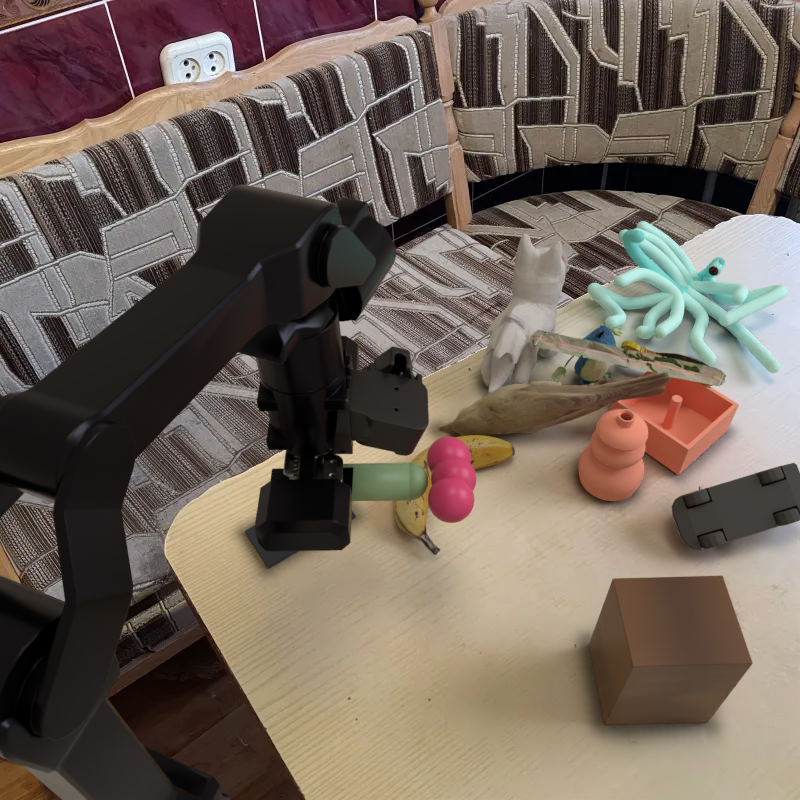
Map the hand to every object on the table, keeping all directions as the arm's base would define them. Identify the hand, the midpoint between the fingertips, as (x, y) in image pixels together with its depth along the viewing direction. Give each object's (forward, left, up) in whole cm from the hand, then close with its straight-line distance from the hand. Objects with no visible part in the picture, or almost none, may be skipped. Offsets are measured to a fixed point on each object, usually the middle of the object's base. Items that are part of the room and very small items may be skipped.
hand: (323, 499), depth 62 cm
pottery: (+30, -18, -13) cm, 38 cm away
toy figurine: (+37, -9, -13) cm, 40 cm away
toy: (+36, -1, -13) cm, 38 cm away
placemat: (+3, +7, -13) cm, 15 cm away
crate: (+7, -28, -13) cm, 32 cm away
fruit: (+15, -4, -13) cm, 20 cm away
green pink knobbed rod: (+3, -4, +1) cm, 5 cm away
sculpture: (+30, -7, -9) cm, 32 cm away
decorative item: (+42, -16, -13) cm, 47 cm away
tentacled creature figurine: (+45, -13, -8) cm, 47 cm away
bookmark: (+36, -13, -7) cm, 39 cm away
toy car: (+25, -30, -8) cm, 39 cm away
